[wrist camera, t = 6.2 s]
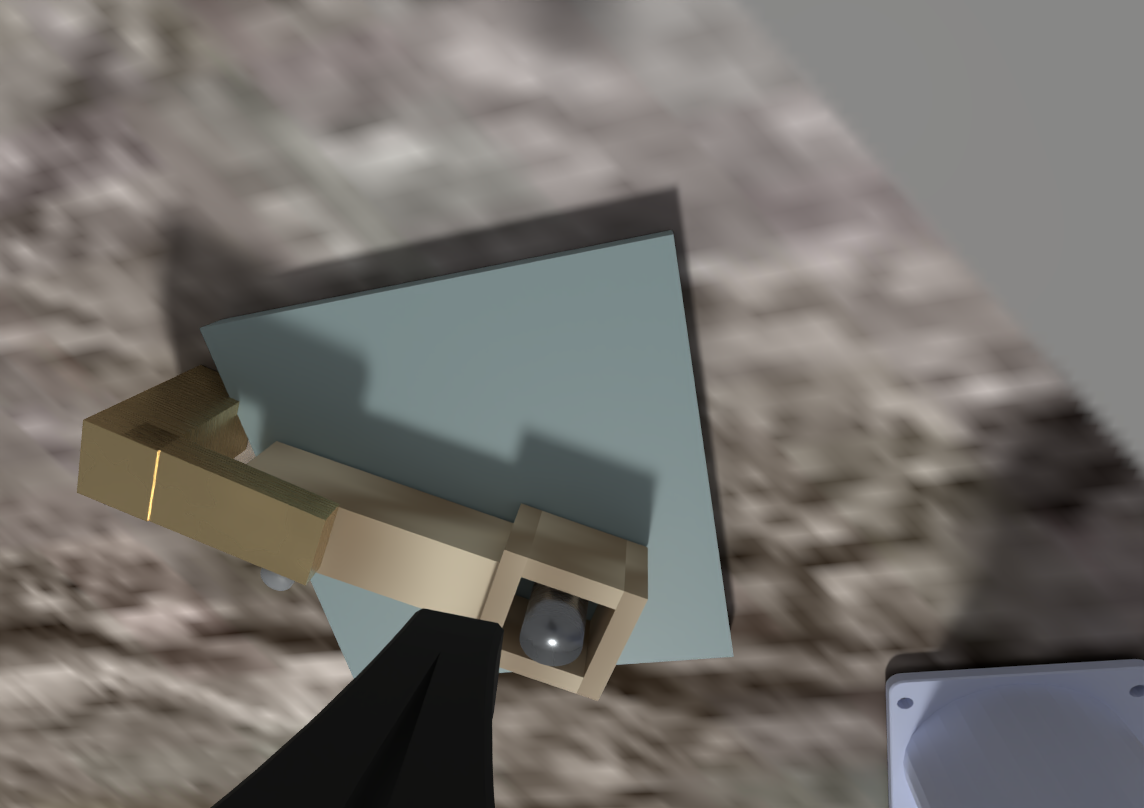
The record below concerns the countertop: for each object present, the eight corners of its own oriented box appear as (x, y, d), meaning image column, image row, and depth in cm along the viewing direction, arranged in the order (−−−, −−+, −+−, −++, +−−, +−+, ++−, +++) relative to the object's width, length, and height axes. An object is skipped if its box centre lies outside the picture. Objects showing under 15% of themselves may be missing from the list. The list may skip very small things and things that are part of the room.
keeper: (190, 425, 20) (76, 492, 16) (200, 365, 19) (83, 420, 15) (371, 502, 21) (304, 586, 17) (390, 446, 20) (324, 521, 16)
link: (648, 547, 19) (648, 599, 17) (603, 642, 20) (597, 700, 18) (279, 419, 19) (230, 454, 16) (264, 525, 20) (217, 571, 18)
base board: (729, 634, 21) (743, 715, 18) (367, 662, 24) (325, 736, 21) (671, 230, 16) (677, 246, 13) (221, 319, 19) (138, 351, 16)
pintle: (598, 573, 21) (588, 663, 17) (548, 578, 21) (527, 668, 17) (588, 530, 20) (575, 614, 16) (536, 536, 20) (512, 619, 17)
